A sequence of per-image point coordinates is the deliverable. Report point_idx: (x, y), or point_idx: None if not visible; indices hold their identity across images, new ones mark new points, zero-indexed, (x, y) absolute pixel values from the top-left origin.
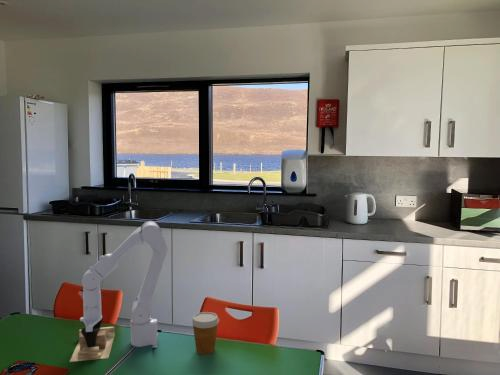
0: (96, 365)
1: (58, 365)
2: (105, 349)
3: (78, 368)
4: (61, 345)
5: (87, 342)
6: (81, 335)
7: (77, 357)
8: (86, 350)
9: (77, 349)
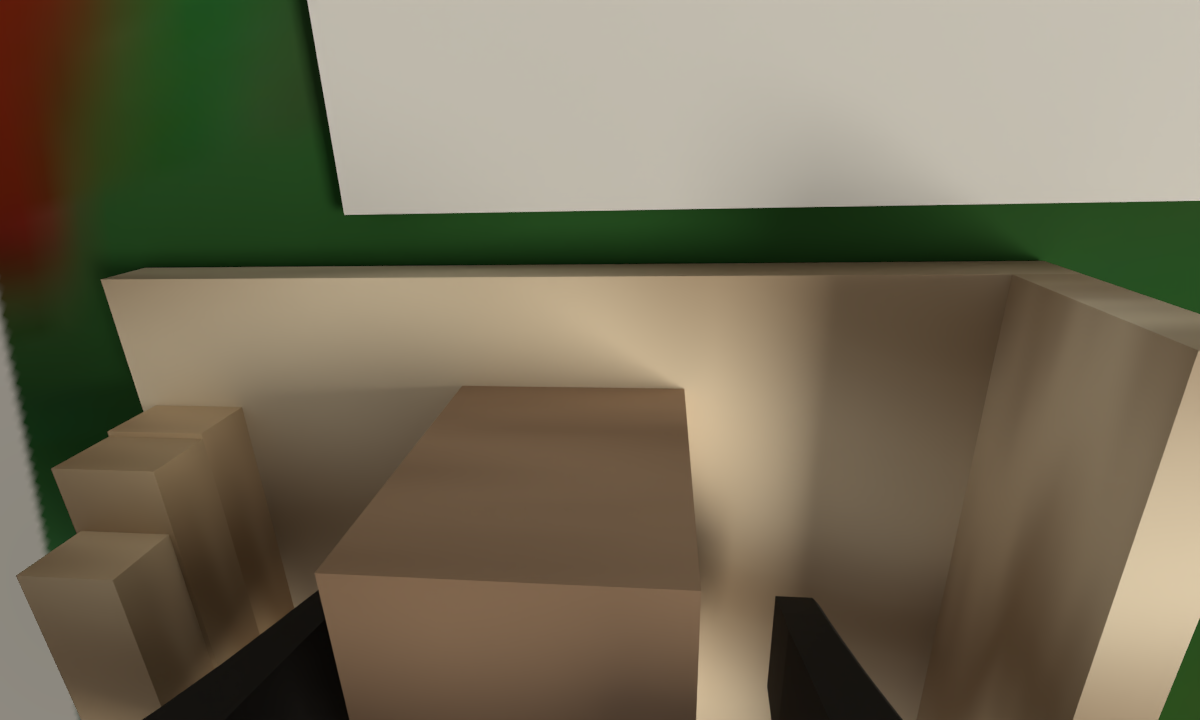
0: None
1: (108, 75)
2: None
3: (68, 414)
4: None
5: (227, 685)
6: (438, 604)
7: (251, 379)
8: (65, 632)
9: (545, 324)
